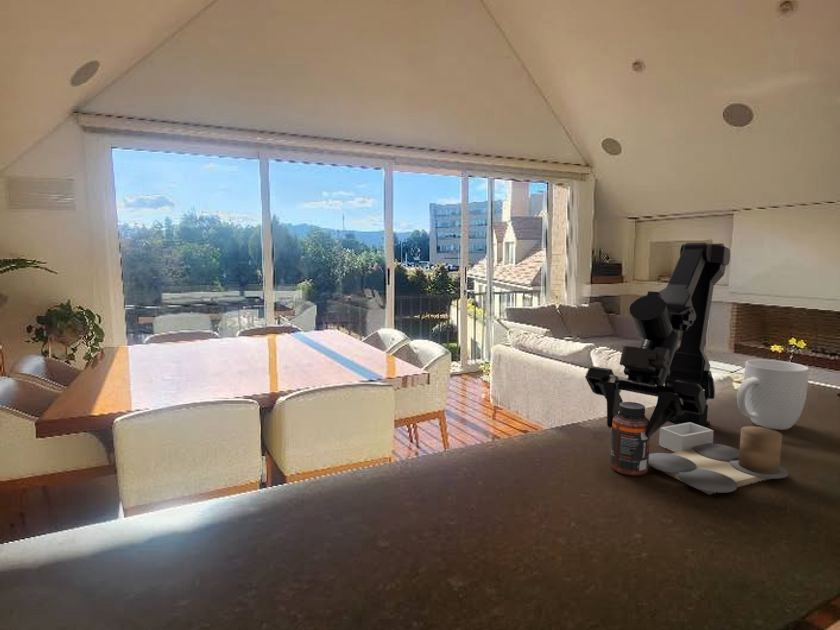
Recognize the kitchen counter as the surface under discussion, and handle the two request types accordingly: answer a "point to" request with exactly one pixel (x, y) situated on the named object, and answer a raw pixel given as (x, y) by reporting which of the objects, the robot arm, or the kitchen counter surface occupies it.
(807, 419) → the kitchen counter surface
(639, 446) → the supplement bottle
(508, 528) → the kitchen counter surface
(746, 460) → the board
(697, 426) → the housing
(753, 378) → the mug
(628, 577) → the kitchen counter surface
